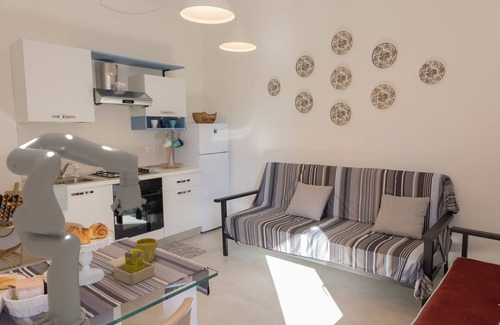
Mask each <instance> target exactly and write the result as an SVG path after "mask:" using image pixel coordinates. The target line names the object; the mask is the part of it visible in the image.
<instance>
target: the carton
mask: <svg viewBox="0 0 500 325" xmlns="http://www.w3.org/2000/svg"><path fill="white" fill-rule="evenodd" d="M153 276H155V264H154V263H151V262H146V261H144V269H143V270H141V271H138V272H136V273H133V274H130V273H128V272H125V264H123V265H120V266H118V267H113V279H115V280H118V281H120V282H122V283H125V284H127V285H130V286H134V285H136V284H139V283H140V282H143V281H145V280H147V279H149V278H151V277H153Z"/></svg>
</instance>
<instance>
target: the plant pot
mask: <svg viewBox="0 0 500 325" xmlns="http://www.w3.org/2000/svg"><path fill="white" fill-rule="evenodd" d="M134 246H135V249H140V250H144V261H146V262H149V263H151V262H153V261H154V259H155V256H156V255H155V254H156V250H157V248H158V239H156V238H154V237H153V238H152V237H143V238H139V239H137V240H136V241H135V245H134Z"/></svg>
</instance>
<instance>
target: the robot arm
mask: <svg viewBox="0 0 500 325" xmlns="http://www.w3.org/2000/svg"><path fill="white" fill-rule="evenodd" d="M62 159H64V160H65V159H66V160H69V161H72V162H75V163H79V164H82V165H85V166H89V167H94V168H102V169H103V170H104V171H106V172H109V173H119V185H118V186H117V188H116V192H115V194H116V195H115V202H114V203H113V202H112V204H110V210H112V213H114V215H115V216H116V218H115V220H116V224H117V225H121V226H122V225H123V222H124V221H123V216H124V215H122V214H123V212H124V211H126V210H127V211H128V210H130V209H131V210H132V209H136V210H135V219H136V220H138V221H142V220H143V217H142V216H143V215H142V214H143V210H144V208H145V207H146V204H147V199H145V198H144V197H142V193H141V187H140V184H139V182H140V181H141V179H140V178H139V156H138V154H136V153H133V152H132V153H131V152H128V151H125V150H122V149H119V148H114V147H110V146H108V145H104V144H98V143H96V142H93V141H90V140H88V139H85V138H83V137H81V136H78V135H76V134H73V133H69V132H45V133H42V134H40V135H38V136H36V137H35V138H33V139H31V140H28V141H27V142H25V143H23V144H21V145H19V146H17V147H15V148H13V149H12V150H11V151H10V152H9V154H7V157H6V160H5V162H6V167H7V168H8V170H9V171H10V172H11V173H12V174H15V175H17V176H26V179H25V182H24V184H23V186H22V189H21V199H22V202H23V203H22V204H20V205H19V206H17V207H16V208H15V210H14V211H13V214H12V227H13V229H14V231H15V233H16V235H17V237H18V238H19V240H20V242H21V243H22V245H23V247H24V249H25V250H26V251H27V253H28V254H29V255H31V256H32V257H36V258H40V259H41V258H42V259H45V260H46V259H47V260H50V265H49V266H48V268H47V271H46V288H47V290H46V291H47V306H48V307H47V308H48V311H47V312H45V313H44V314H45V316H43V317H42V318H41V319H38V320H36V321H34V322H33V323H32V325H81V324H83V323H85V320H86V318H87V314H86V312H85V311H84V310H83V309H82V308H81V294H80V292H81V291H80V273H79V272H80V269H79V261H80V254H81V253H80V252H81V247H82V246H81V245H82V243H81V239H80V237H79V236H78V235H77V234H76V233H74V232H71V231H66V230H63V229H64V228H65V226H66V218H65V215H64V212H63V211H62V208H61V205H60V204H59V201H58V199H57V196H56V193H55V191H54V190H55V189H54V185H55V181H56V178H57V177H58V174H59V172H60V170H61V167H62Z"/></svg>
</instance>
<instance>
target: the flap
mask: <svg viewBox="0 0 500 325" xmlns="http://www.w3.org/2000/svg"><path fill="white" fill-rule="evenodd" d="M107 264H109V265H110V266H112V267H113V268H115V267H118V266H120V265H123V264H125V255H123V256H120V257H117V258H115V259H112V260H109V261H107Z"/></svg>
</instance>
